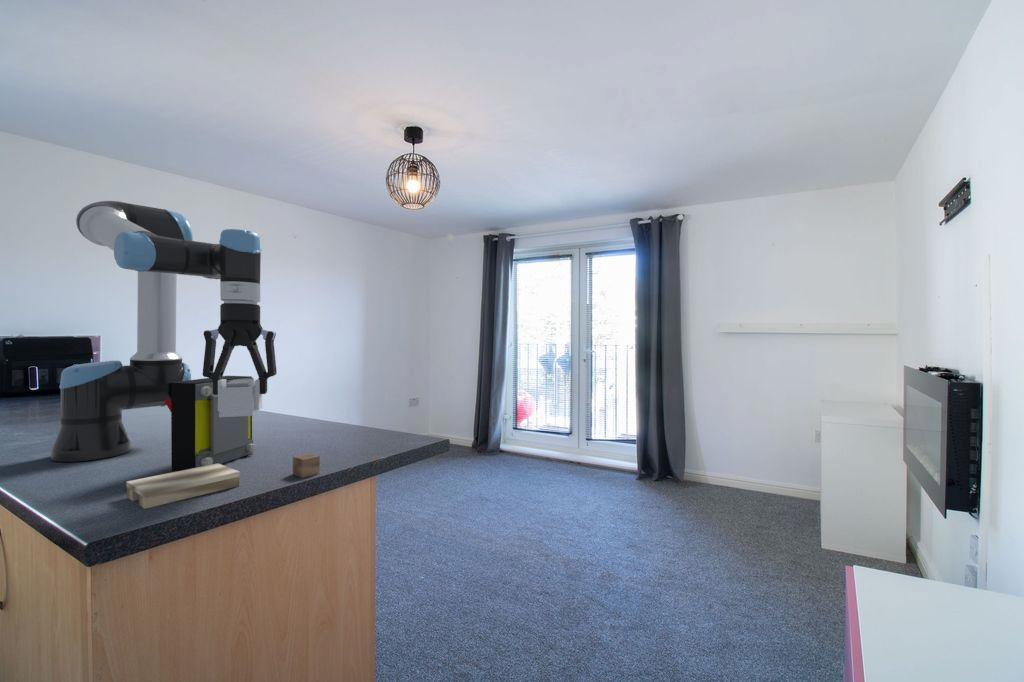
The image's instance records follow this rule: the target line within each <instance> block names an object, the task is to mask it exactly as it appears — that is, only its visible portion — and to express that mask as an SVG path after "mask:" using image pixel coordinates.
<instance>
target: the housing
mask: <svg viewBox="0 0 1024 682" xmlns="http://www.w3.org/2000/svg"><path fill="white" fill-rule="evenodd" d="M257 411H258V410H255V378H253V379H236V380H232V381H230V382H228V383H227V384H225V385H223V386H221V387H220V388H219V417H237V416H252V417H253V416H254V415H255V414H256V412H257Z"/></svg>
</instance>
